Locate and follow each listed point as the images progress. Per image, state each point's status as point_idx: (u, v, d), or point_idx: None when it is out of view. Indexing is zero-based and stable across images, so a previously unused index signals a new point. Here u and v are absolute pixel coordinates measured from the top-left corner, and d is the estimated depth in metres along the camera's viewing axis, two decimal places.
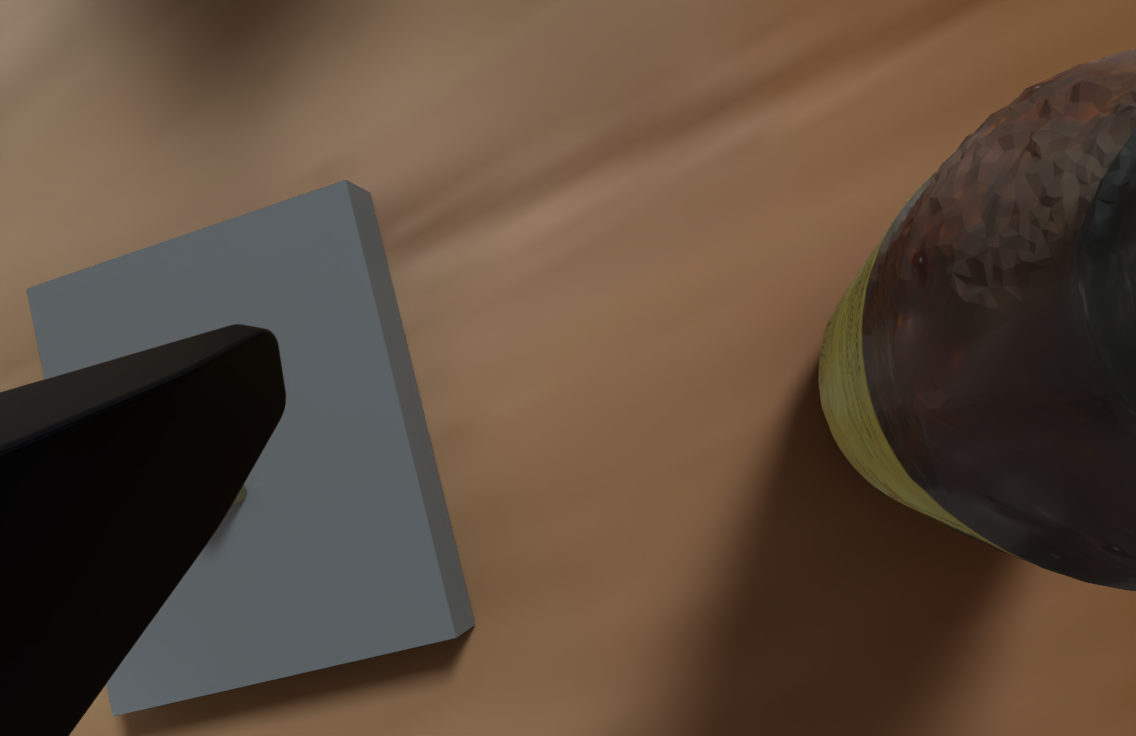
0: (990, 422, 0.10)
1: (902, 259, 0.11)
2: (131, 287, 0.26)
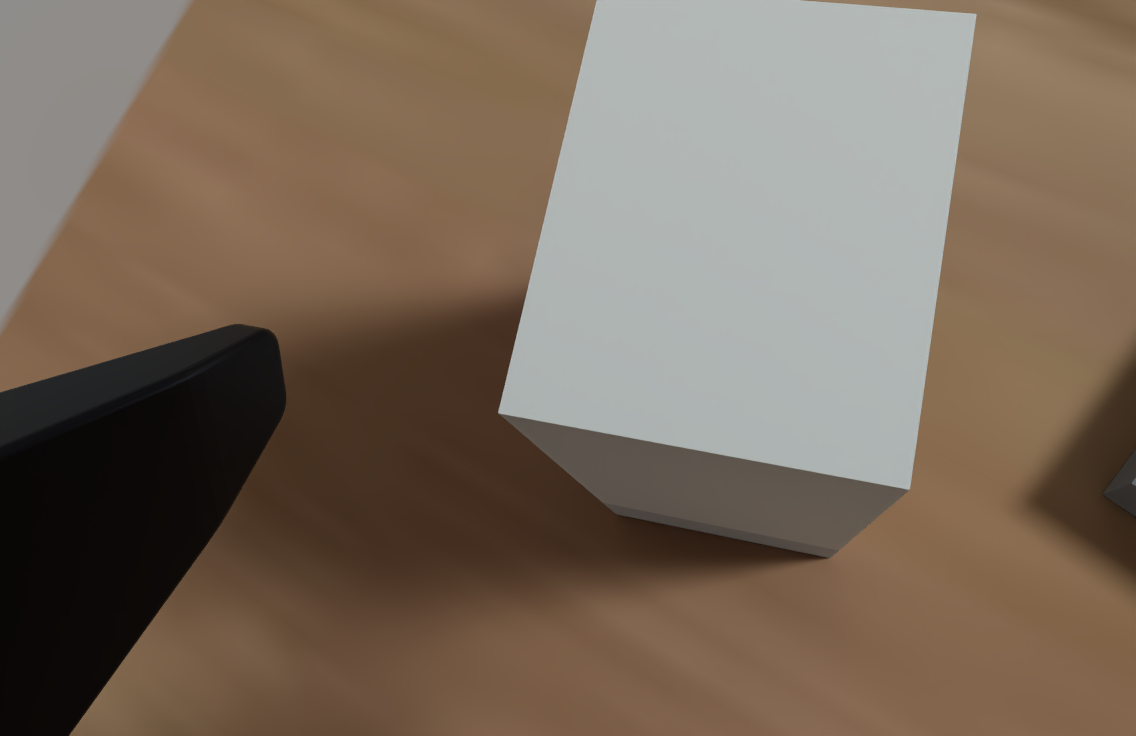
0: None
1: None
2: None
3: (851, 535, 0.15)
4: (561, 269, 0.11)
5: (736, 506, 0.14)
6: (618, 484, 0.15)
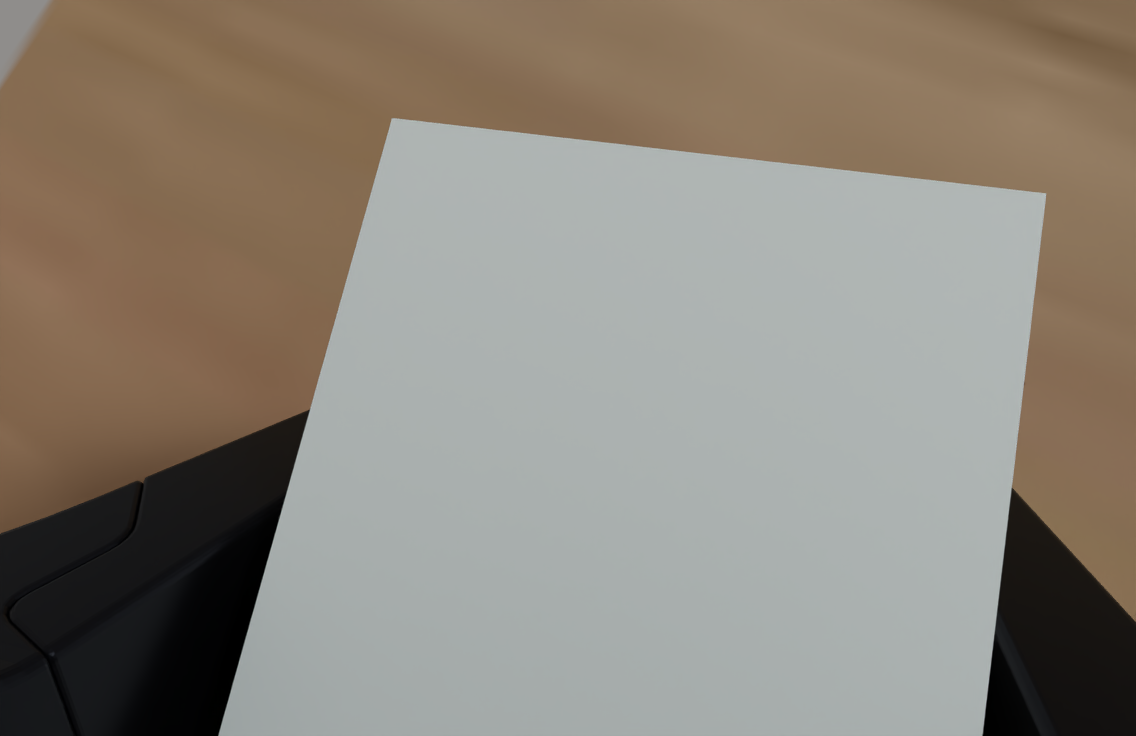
0: None
1: None
2: None
3: None
4: (292, 654, 0.06)
5: None
6: None
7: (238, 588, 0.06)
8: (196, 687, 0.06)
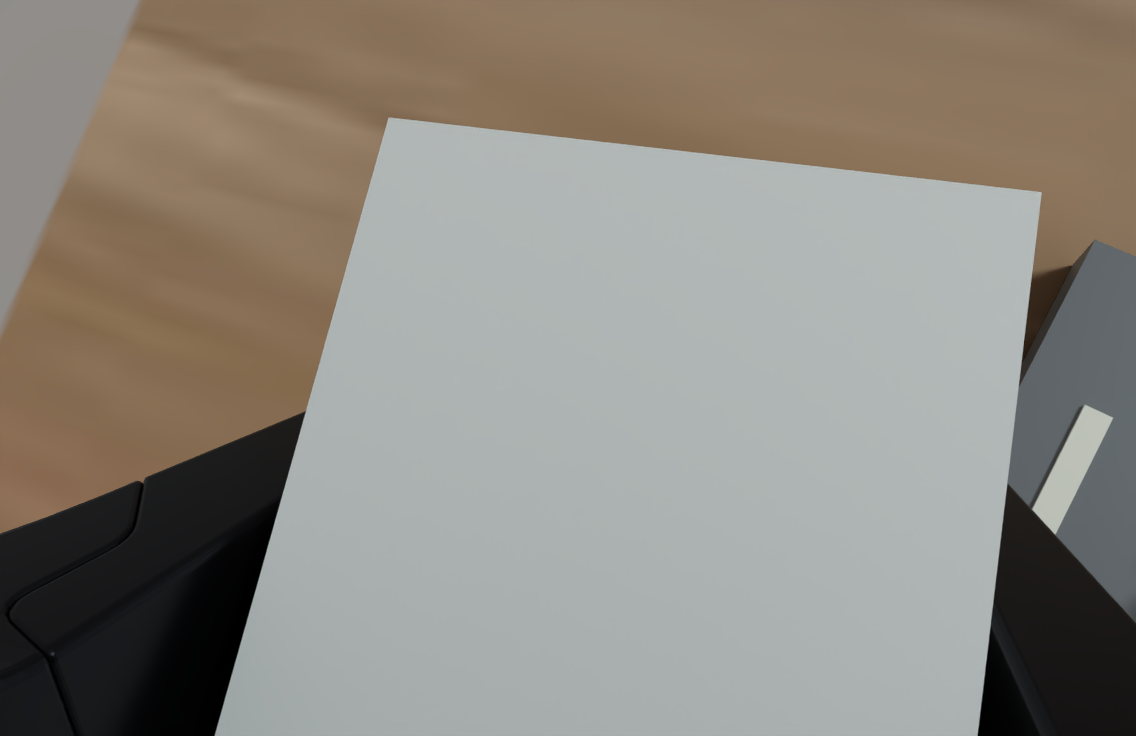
0: None
1: None
2: None
3: None
4: (289, 652, 0.06)
5: None
6: None
7: (238, 588, 0.06)
8: (196, 687, 0.06)
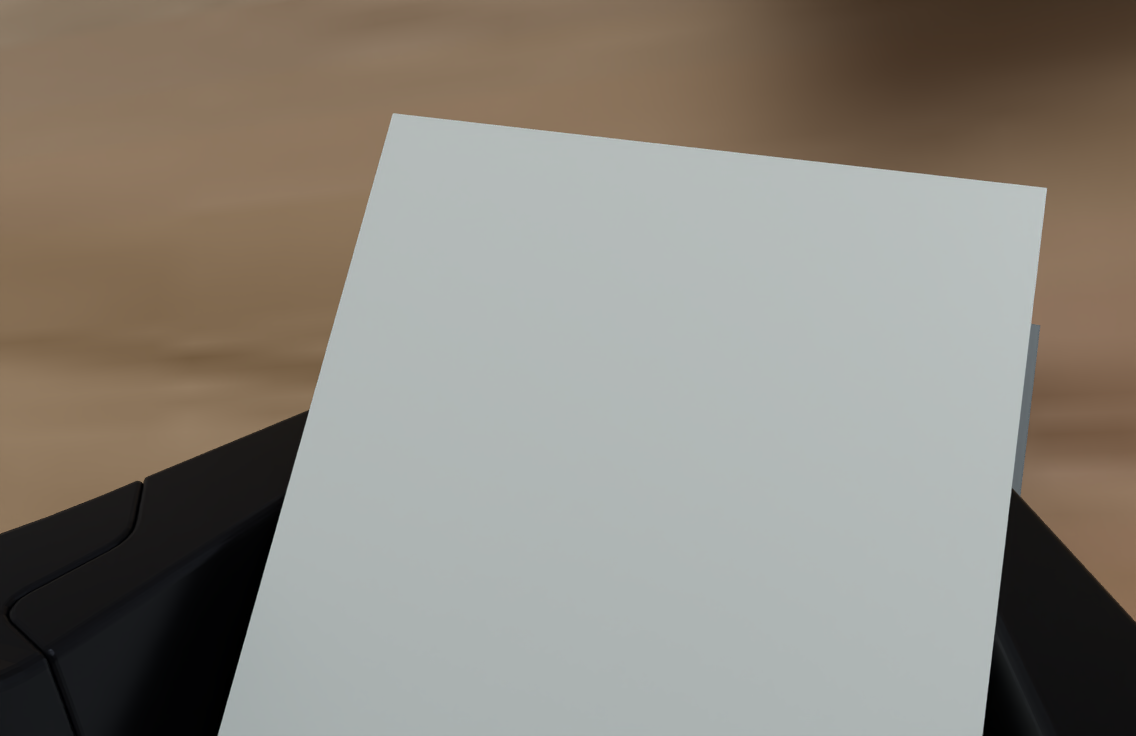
0: None
1: None
2: None
3: None
4: (293, 648, 0.06)
5: None
6: None
7: (238, 588, 0.06)
8: (196, 687, 0.06)
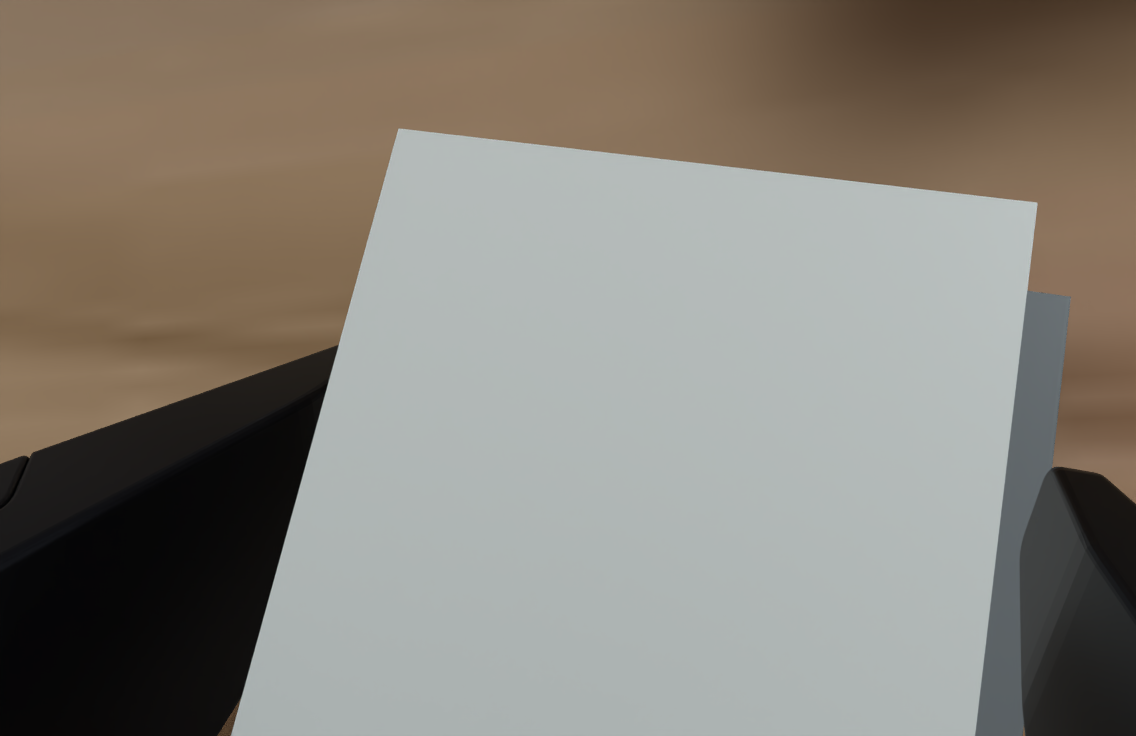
0: None
1: None
2: None
3: None
4: (303, 654, 0.06)
5: None
6: None
7: (114, 558, 0.07)
8: (71, 653, 0.07)
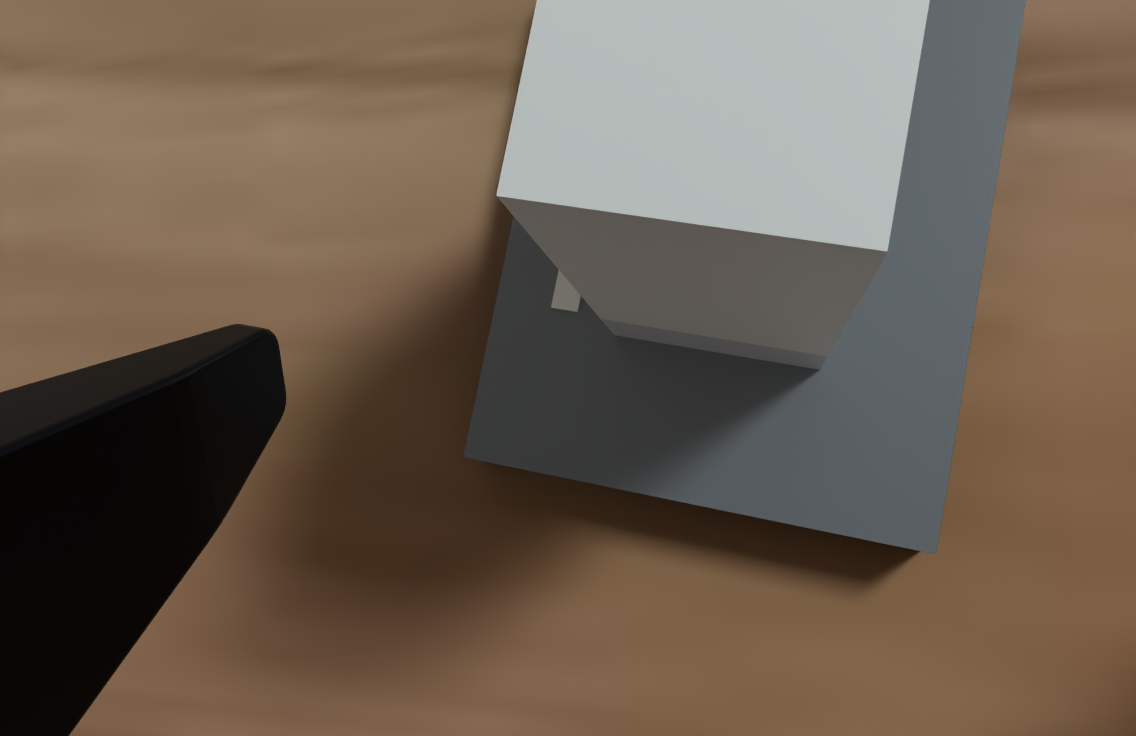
0: None
1: None
2: None
3: (838, 330, 0.15)
4: (554, 54, 0.11)
5: (727, 304, 0.15)
6: (614, 287, 0.15)
7: None
8: None
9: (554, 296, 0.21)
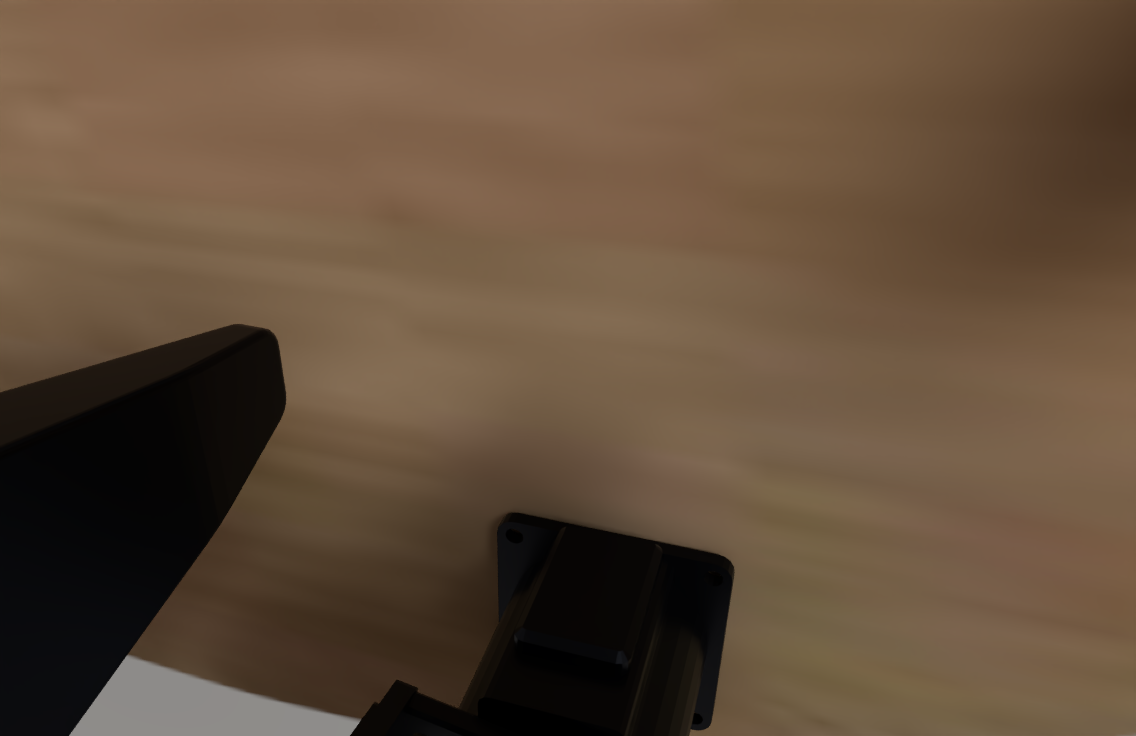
0: None
1: None
2: None
3: None
4: None
5: None
6: None
7: None
8: None
9: None
